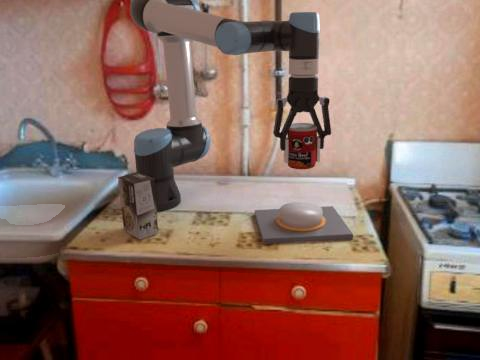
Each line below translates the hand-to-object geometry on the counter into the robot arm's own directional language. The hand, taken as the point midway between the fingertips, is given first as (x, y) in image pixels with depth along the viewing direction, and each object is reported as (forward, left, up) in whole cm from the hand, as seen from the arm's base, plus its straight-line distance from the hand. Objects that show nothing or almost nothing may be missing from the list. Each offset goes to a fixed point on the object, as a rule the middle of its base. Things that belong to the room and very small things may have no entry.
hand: (301, 161), depth 131 cm
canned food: (0, 0, -1) cm, 1 cm away
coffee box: (-2, -45, -20) cm, 49 cm away
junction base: (0, 0, -19) cm, 19 cm away
